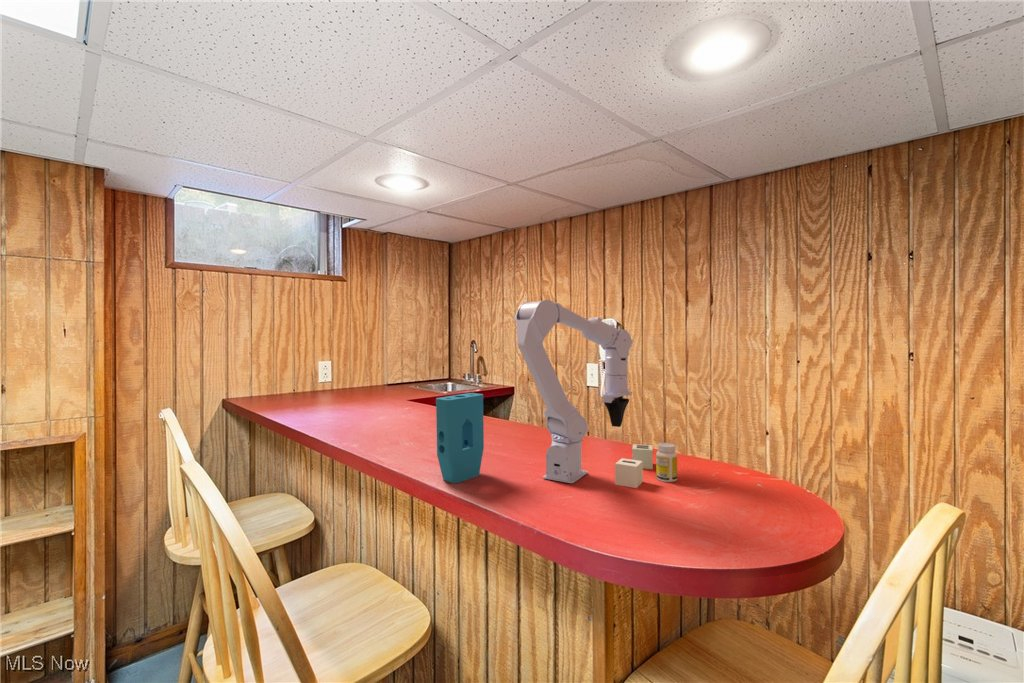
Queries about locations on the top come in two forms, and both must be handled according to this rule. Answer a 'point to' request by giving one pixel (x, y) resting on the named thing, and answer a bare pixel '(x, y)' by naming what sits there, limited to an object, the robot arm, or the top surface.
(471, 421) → the block
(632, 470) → the numbered block one
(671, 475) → the supplement bottle
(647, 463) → the numbered block two
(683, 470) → the top surface
